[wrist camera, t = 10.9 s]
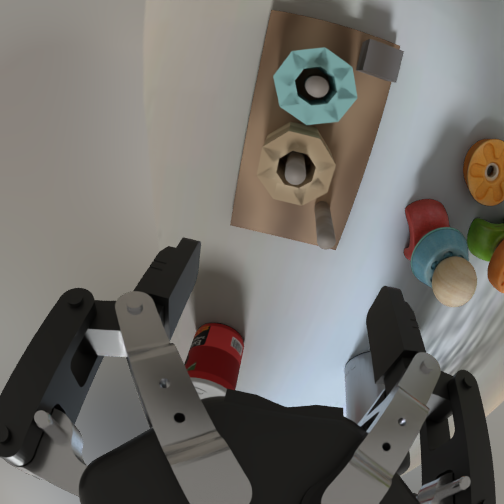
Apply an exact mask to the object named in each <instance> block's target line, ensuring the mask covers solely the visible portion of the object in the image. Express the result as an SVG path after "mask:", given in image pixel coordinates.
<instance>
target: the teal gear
mask: <svg viewBox="0 0 504 504" xmlns="http://www.w3.org/2000/svg"><path fill="white" fill-rule="evenodd" d="M313 68H317V69H319V70H320V71H321V72H323V73H324V74H326V75H327V76H328V80H329V85H330V90H329V91H328V92H327V94H326V95H325V96H324V97H323V99H316V100H308V99H306V98H305V97H303V96H302V95H300V94H299V93H298V92H297V87H296V82H295V80H296V78H297V77H298V76H299V74H300V73H301V72H302V71H303V70H304V69H313ZM273 78H274V82H275V87H276V92H277V96H278V101H279V106H280V107H281V108H282V109H284V110H285V111H287V112H288V113H290V114H291V115H293V116H294V117H296V118H297V119H298V120H300V121H301V122H303V123H304V124H306V125H313V124H321V123H331V122H339V120H340V119H341V118H342V117H343V115H344V114H345V113H346V112H347V110H348V109H349V108H350V107H351V106H352V104H353V103H354V102H355V101H356V99H357V92H356V85H355V79H354V73H353V68H352V67H351V66H350V65H349V64H348V63H346V62H345V61H343V60H342V59H341V58H339V57H338V56H337V55H335V54H334V53H332V52H331V51H330V50H328V49H327V48H325V47H324V48H314V49H305V50H297V51H292V52H291V53H290V54H289V56H288V57H287V58H286V60H285V61H284V62H283V64H282V65H281V66H280V68H279V69H278V70H277V72H276V73H275V74H274V76H273Z"/></svg>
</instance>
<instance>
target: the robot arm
mask: <svg viewBox="0 0 504 504" xmlns="http://www.w3.org/2000/svg"><path fill="white" fill-rule="evenodd" d="M200 248H201V242H200V241H196V240H192V239H188V238H182V240H181V241H180V243H179V244H178V246H177V247H176V248H174V247H170V246H168V247H166V248H165V249H163V250H162V251H160V252H159V253H158V255H157V256H156V258H155V259H154V261H153V262H152V264H151V265H150V267H149V268H148V270H147V271H146V272H145V274H144V275H143V277H142V279H141V280H140V282H139V283H138V285H137V286H136V288H135V289H134V291H132V292H128V293H125V294H123V295H122V296H120V297H119V298H118V299H117V301H99V300H94V297H93V295H92V293H91V292H89V291H88V290H86V289H83V288H74V289H71V290H68V291H66V292H65V293H64V294H63V295H62V296H61V297H60V298H59V300H58V301H57V303H56V304H55V306H54V307H53V309H52V310H51V311H50V313H49V314H48V316H47V317H46V319H45V320H44V322H43V323H42V325H41V326H40V328H39V330H38V331H37V333H36V334H35V336H34V337H33V339H32V341H31V342H30V344H29V345H28V347H27V349H26V351H25V352H24V354H23V355H22V357H21V359H20V361H19V362H18V364H17V366H16V368H15V369H14V371H13V373H12V374H11V376H10V378H9V380H8V382H7V384H6V386H5V388H4V389H3V391H2V393H1V395H0V457H1V458H3V459H4V460H5V461H7V462H8V463H9V464H11V465H12V466H14V467H16V468H18V469H19V470H21V471H23V472H25V473H26V474H29V475H32V476H34V477H36V478H38V479H41V480H46V481H48V482H50V483H52V484H54V485H56V486H58V487H60V488H61V489H64V490H66V491H68V492H70V493H72V494H74V495H76V496H78V497H79V498H80V502H81V504H496V497H495V481H494V470H493V461H492V454H491V446H490V440H489V434H488V429H487V423H486V418H485V413H484V409H483V404H482V400H481V396H480V392H479V388H478V384H477V381H476V379H475V378H474V376H473V375H472V374H471V373H470V372H468V371H466V370H460V371H458V372H457V373H456V374H455V375H454V376H451V375H449V374H447V373H444V372H442V371H441V369H440V365H439V363H438V362H437V360H436V359H435V358H434V357H433V356H432V355H430V354H428V353H426V350H425V347H424V344H423V340H422V337H421V333H420V330H419V329H418V328H419V327H418V324H417V322H416V318H415V315H414V312H413V310H412V309H411V307H410V306H409V304H408V303H407V302H405V301H404V298H403V295H402V292H401V290H400V289H396V288H392V287H388V286H384V287H382V289H381V290H380V292H379V294H378V296H377V297H376V299H375V301H374V302H373V304H372V306H371V308H370V309H369V311H368V314H367V318H366V325H367V331H368V337H369V344H370V350H371V352H367V353H363V354H361V355H358V356H356V357H354V358H353V359H351V360H350V361H349V362H348V363H347V365H346V366H345V387H346V414H347V418H346V417H343V408H338V407H329V406H321V405H311V406H300V407H284V406H282V405H279V404H277V403H274V402H272V401H270V400H267V399H265V398H263V397H260V396H258V395H255V394H250V393H245V392H241V391H236V390H232V389H227V391H226V394H225V396H214V397H208V398H203V399H200V397H199V395H198V393H197V391H196V389H195V387H194V385H193V383H192V381H191V378H190V376H189V374H188V372H187V370H186V368H185V365H184V363H183V361H182V359H181V357H180V354H179V352H178V350H177V348H176V346H175V345H174V344H173V343H172V344H171V343H170V342H169V341H170V340H171V337H172V335H173V333H174V330H175V328H176V326H177V323H178V321H179V319H180V316H181V314H182V312H183V310H184V307H185V305H186V303H187V301H188V298H189V296H190V294H191V292H192V289H193V287H194V285H195V282H196V279H197V275H198V269H199V258H200ZM104 356H117V357H126V359H127V362H128V365H129V369H130V372H131V375H132V378H133V381H134V384H135V387H136V391H137V393H138V396H139V400H140V402H141V405H142V408H143V411H144V414H145V417H146V419H147V422H148V425H149V427H150V429H149V430H147V431H145V432H144V433H142V434H140V435H138V436H137V437H135V438H133V439H131V440H130V441H128V442H126V443H124V444H123V445H121V446H119V447H117V448H115V449H114V450H112V451H110V452H108V453H106V454H104V455H102V456H101V457H99V458H97V459H95V460H94V461H92V462H91V463H90V464H89V465H88V466H87V465H86V464H85V462H84V460H83V457H82V447H83V438H82V435H81V433H80V431H79V430H78V429H77V427H76V426H75V425H74V424H75V422H76V419H77V417H78V414H79V412H80V410H81V407H82V404H83V402H84V400H85V398H86V395H87V393H88V391H89V388H90V386H91V384H92V381H93V379H94V377H95V375H96V372H97V370H98V368H99V366H100V364H101V362H102V359H103V357H104ZM452 414H453V419H454V425H455V433H454V435H453V437H452V438H451V439H450V432H449V424H448V417H450V416H451V415H452ZM419 431H420V444H421V464H422V487H421V489H420V490H419V493H418V494H415V493H412V492H411V490H410V489H409V488H408V486H407V485H406V484H405V483H404V481H403V480H402V479H401V477H400V475H401V474H403V473H404V472H405V471H407V469H408V468H409V466H410V453H409V449H410V448H411V446H412V444H413V442H414V440H415V439H416V437H417V435H418V433H419Z"/></svg>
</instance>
